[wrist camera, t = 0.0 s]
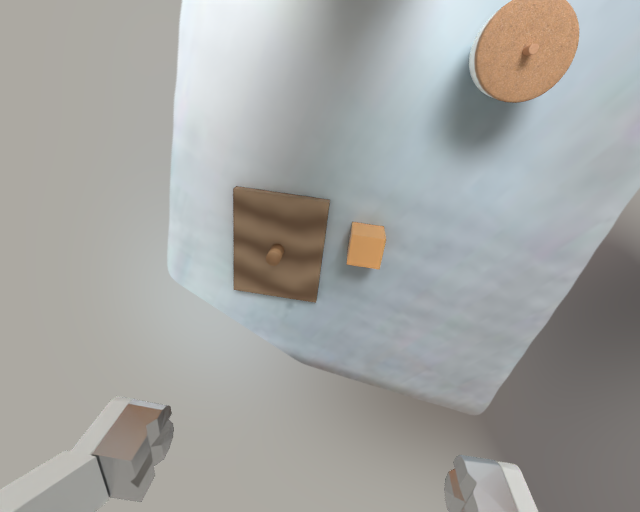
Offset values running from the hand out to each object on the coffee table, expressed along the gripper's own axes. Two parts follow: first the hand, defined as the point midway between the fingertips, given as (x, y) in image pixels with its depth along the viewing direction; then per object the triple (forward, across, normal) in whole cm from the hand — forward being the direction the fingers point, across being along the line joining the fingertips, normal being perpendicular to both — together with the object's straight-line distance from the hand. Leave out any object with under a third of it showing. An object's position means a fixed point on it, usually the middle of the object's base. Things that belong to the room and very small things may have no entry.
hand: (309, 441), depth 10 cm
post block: (+48, +10, +18) cm, 52 cm away
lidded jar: (+48, -18, -15) cm, 54 cm away
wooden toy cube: (+48, -5, +14) cm, 50 cm away
